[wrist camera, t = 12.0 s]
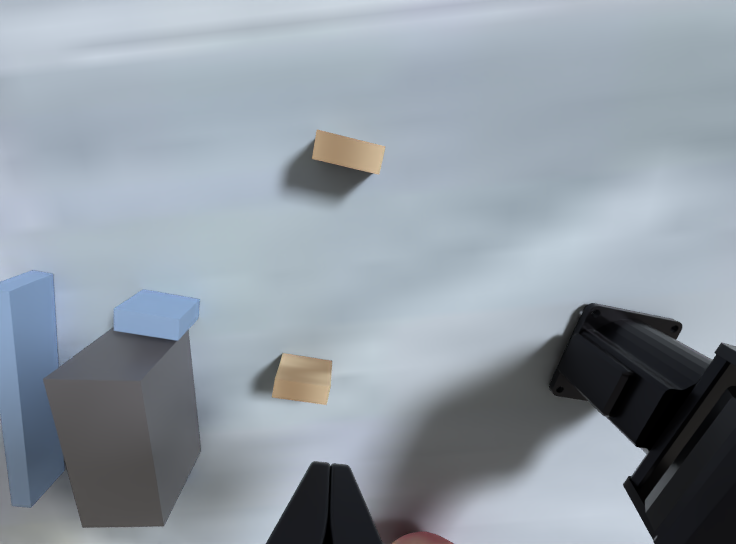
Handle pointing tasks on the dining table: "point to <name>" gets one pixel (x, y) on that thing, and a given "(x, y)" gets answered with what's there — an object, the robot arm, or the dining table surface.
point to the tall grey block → (126, 427)
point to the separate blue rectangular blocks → (40, 358)
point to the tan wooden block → (304, 373)
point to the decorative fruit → (421, 539)
